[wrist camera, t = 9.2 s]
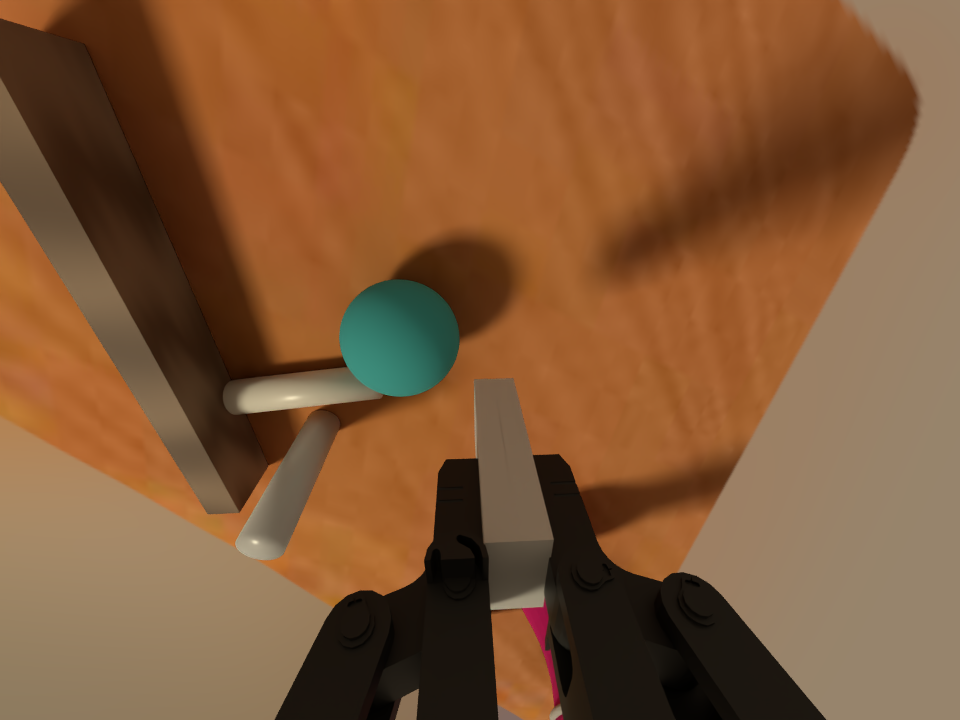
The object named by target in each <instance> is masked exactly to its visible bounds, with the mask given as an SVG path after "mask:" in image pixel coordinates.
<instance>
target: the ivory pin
mask: <svg viewBox="0 0 960 720" xmlns="http://www.w3.org/2000/svg"><path fill="white" fill-rule="evenodd" d="M382 396H383V394H381V393H378V392H376V391H374V390H372V389H370V388H368V387H367V386H365V385H364V384H362V383H361V382H360V381H359V380H358V379H357V378H356V377H355V376H354V375H353V374H352V372H351V371H350V370H349V368H348V367H342V368H333V369H325V370H316V371H307V372H298V373H289V374H280V375H272V376H263V377H254V378H245V379H236V380H231V381H229V382H228V383H227V384H226V386H225V388H224V390H223V403H224V406H225V408H226V409H227V410H228V412H230V413H231V414H233V415H240V414H249V413H257V412H266V411H275V410H284V409H293V408H302V407H311V406H320V405H329V404H337V403H346V402H355V401H364V400H373V399H381V398H382Z"/></svg>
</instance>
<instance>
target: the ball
mask: <svg viewBox="0 0 960 720" xmlns="http://www.w3.org/2000/svg"><path fill="white" fill-rule="evenodd" d="M339 340H340V348H341V352H342V355H343V358H344V361H345V363H346V365H347V367H348V368H349V370H350V371H351V372H352V374H353V375H354V376H355V377H356V378H357V379H358V380H359V381H360V382H361V383H362V384H364V385H365V386H367V387H368V388H370V389H372V390H374V391H376V392H378V393H381V394H385V395H389V396H399V397H403V396H411V395H416V394H419V393H422V392H425V391H427V390H429V389H431V388H432V387H434V386H435V385H437V384H438V383H439V382H440V381H441V380H442V379H443V378H444V377H445V376H446V375H447V374H448V372H449V371H450V369H451V368H452V366H453V364H454V362H455V360H456V357H457V353H458V349H459V329H458V324H457V321H456V318H455V316H454V313H453V311H452V310H451V308H450V306H449V305H448V304H447V302H446V301H445V300H444V299H443V298H442V297H441V296H440V295H439V294H438V293H437V292H435V291H434V290H432V289H431V288H429V287H427V286H425V285H423V284H420V283H418V282H414V281H410V280H401V279H398V280H388V281H383V282H380V283H377V284H374V285H372V286H370V287H368V288H367V289H365V290H364V291H362V292H361V293H360V294H359V295H358V296H357V297H356V298H355V299H354V300H353V301H352V302H351V303H350V305H349V307H348V308H347V310H346V312H345V314H344V316H343V319H342V322H341V326H340V335H339Z"/></svg>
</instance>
